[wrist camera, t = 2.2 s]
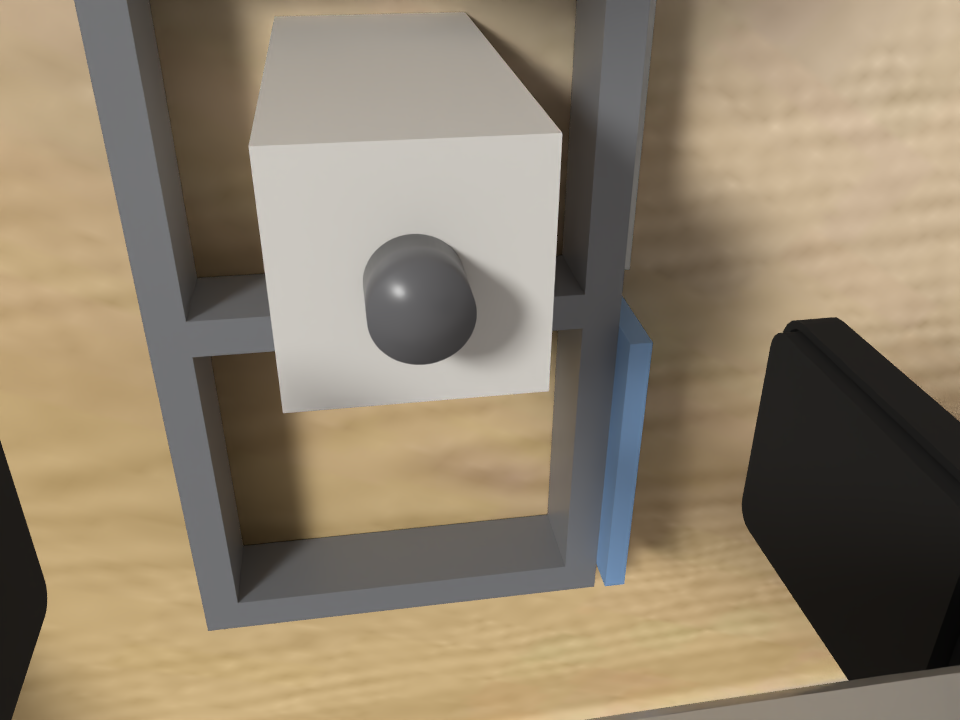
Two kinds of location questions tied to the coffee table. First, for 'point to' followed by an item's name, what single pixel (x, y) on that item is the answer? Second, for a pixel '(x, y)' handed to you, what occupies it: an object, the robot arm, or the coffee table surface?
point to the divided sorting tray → (247, 329)
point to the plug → (403, 212)
